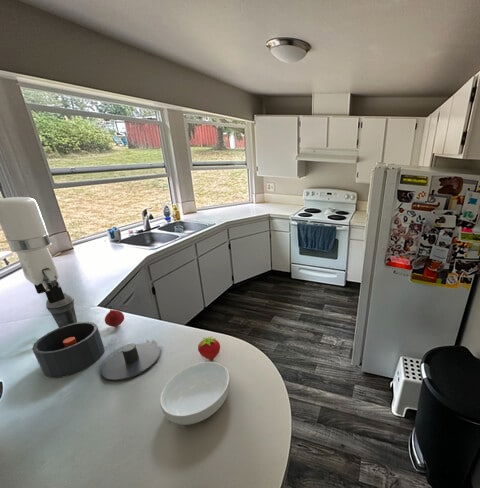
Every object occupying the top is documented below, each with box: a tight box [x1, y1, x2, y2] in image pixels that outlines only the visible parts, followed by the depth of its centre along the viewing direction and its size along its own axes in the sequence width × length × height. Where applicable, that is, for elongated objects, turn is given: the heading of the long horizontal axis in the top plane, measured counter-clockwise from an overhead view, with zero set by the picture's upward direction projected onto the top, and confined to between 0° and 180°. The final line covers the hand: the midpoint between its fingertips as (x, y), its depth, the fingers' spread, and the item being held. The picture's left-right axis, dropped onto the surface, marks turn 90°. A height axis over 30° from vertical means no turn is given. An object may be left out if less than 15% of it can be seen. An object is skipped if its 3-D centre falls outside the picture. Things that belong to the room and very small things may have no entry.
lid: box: [100, 342, 161, 382], centre depth 82 cm, size 16×16×6 cm
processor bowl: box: [31, 321, 105, 379], centre depth 81 cm, size 15×15×10 cm
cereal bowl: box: [159, 361, 231, 426], centre depth 69 cm, size 17×17×7 cm
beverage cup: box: [45, 292, 78, 328], centre depth 93 cm, size 7×7×20 cm
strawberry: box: [197, 335, 221, 361], centre depth 83 cm, size 6×8×10 cm
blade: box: [63, 337, 77, 348], centre depth 82 cm, size 8×3×8 cm, turn 151°
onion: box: [104, 308, 125, 328], centre depth 98 cm, size 6×6×8 cm
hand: (51, 296), depth 75 cm, fingers open, 9 cm apart
